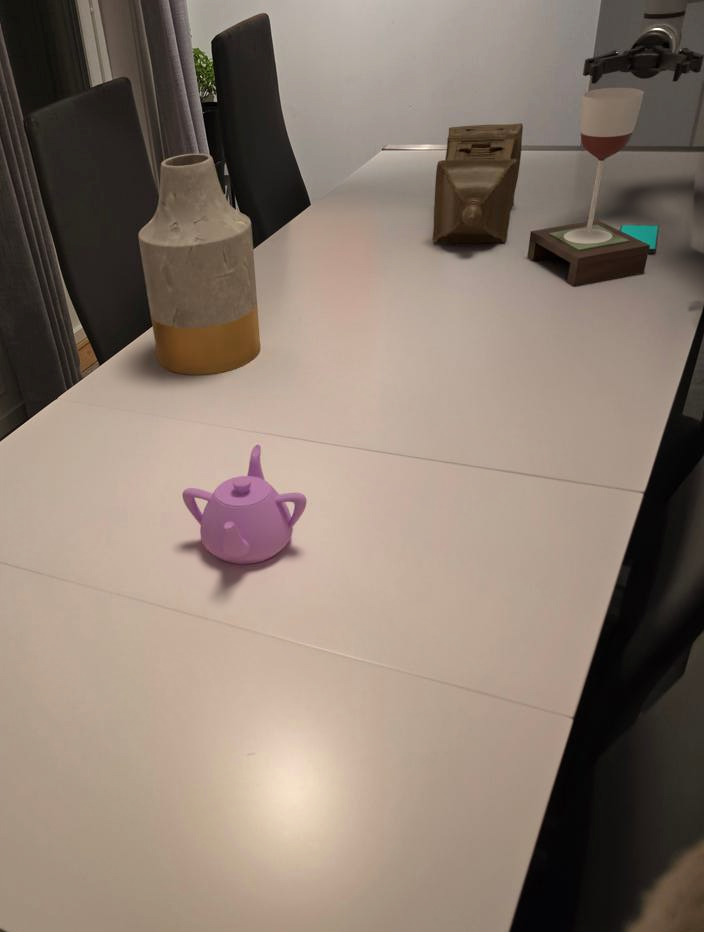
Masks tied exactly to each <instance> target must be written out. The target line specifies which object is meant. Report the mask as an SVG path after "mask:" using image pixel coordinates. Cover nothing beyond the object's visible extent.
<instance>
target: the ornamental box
mask: <svg viewBox="0 0 704 932" xmlns="http://www.w3.org/2000/svg"><path fill="white" fill-rule="evenodd" d="M523 129H524V125H523V123H522V122H520V123H511V124H509V123H508V124H475V125H463V126H462V125H461V126H451V127H450V126H449V127H448V137H447V141H446V150H445V151H446V152H445V158H444V159H442V160H439V161H438V162H437V164H436V172H435V186H434V206H433V207H434V209H433V232H432V242H433V244H440V243H442V244H444V243H446V244H451V243H455V244H463V243H464V244H471V243H472V244H474V243H475V244H477V243H478V244H479V243H504V244H505V243H506V242H507V238H508V233H509V226H510V221H511V220H510V219H511V211H512V207H514V205H515V194H516V189H517V184H518V178H519V173H520V172H519V171H520V165H521V158H522V145H523Z"/></svg>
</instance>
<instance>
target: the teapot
mask: <svg viewBox="0 0 704 932" xmlns="http://www.w3.org/2000/svg"><path fill="white" fill-rule="evenodd" d="M261 448H262V447H261V445H260V444H256V445H254V447H253V448H252V450H251V453H250V458H249V465H248V470H247V475H240V476H239V475H238V476H235V477H231V478H229V479H227V480H226V479H225V480H224V481H223V482H221V483H220V484H219V485H218V486H216V488H215V490H214V491H213V492H209V491H207V490H204V489H200V488H196V487H187V488H185V489H184V490H183V491H182V494H181V495H182V500H183V503H184V505H185V507H186V508H187V510H188V512H189V513H190V514H191V515H192V516H193V518H194V519H195V520H196V521H197V523H198V524H199V525H200V527H199V532H200V540H201V543H202V545H203V546H204V547H205V549H206V550H207V551H208V552H209V553H210V554H212V555H213V556H215V557H217V558H218V559H220V560H222V561H224V562H227V563H231V564H238V565H249V564H256V563H261V562H264V561H267V560H269V559H271V558H273V557H274V556H276V555H278V553H279V552H281V551H282V550H283V549H284V548H285V547H286V546H287V545H288V543H289V542H290V540H291V537H292V535H293V532H294V526H295V525H296V523H297V522H298V521H299V520H300V518H301V516H302V515H303V514H304V511H305V510H306V507H307V497H306V495H305V494H303V493H301V492H287V493H281V494H280V493H279V492H278V491H277V490H276V489H275V488H274V487H273V485H272V484H270V482H268V481H266V479H265V476H264V473H263V469H262V464H261V463H262V462H261V453H262V449H261ZM196 499H201V500H204V501H207V502H206V505H205V507H204V509H203V512H202V511H201V510H200V508H199V506H198V504H197V501H196ZM286 503H293V506H294V508H293V512H292V514H291V512H290V510H289V507H288V505H287V504H286Z"/></svg>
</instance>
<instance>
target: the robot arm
mask: <svg viewBox="0 0 704 932" xmlns="http://www.w3.org/2000/svg"><path fill="white" fill-rule="evenodd" d="M694 3H704V0H646V2H645V8H644V14H643V18H642V21H641V28H640V32H639V37H638V38H637V39H636V40H635V42H634V43H633V44H632V46H631V47H630V49H626V50H624V51H623V53H622V54H619V53H620V52H619V51H618V50H616V49H613V50H611V51H609V52H606V53H604V54H601V55H597V56H594V57H589V58H586V59H585V60H584V63H583V64H584V65H583V71H582V76H584V77H587V76H589V77H591V83H590V84H591V85H593V84H597V83H598V82H599V81H600V80H601V78H602V77H603V75H607V74H611V73H617V72H620V73H631V74H632V75H633V76H634V77H636V78H638V79H642V80H646V79H651V78H653V77H656V76H657V75H658V74H660V73H661V72H665V71H670V72H673V78H672V82H678V81H679V79H680V78H681V76H682V75H683V74H684V75H687V74H689V73H690V72H693V73H695V74H697V73H700V72H701V70H702V66H703V62H704V54H702V53H699V52H695V51H694V50H690V49H689V48H688V47H683V48H681V49H679V48H680V46H681V45H680V44H681V41H682V35H683V33H682V29H683V24H684V19H685V15H686V11H687V8H688V4H694ZM677 50H678V52H677Z"/></svg>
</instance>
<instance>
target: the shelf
mask: <svg viewBox="0 0 704 932" xmlns="http://www.w3.org/2000/svg"><path fill="white" fill-rule="evenodd" d="M587 224H588V220H586V221H580V222H574V223H569V224H563V225H558V226H551V227H546V228H542V229H536V230H531V231H530V233H529V241H528V249H527V256H526V258H527V259H529V260H530V261H532V262H535V261H540V260H546V259H551V258H557V257H559V258H561V259H563V260H565V261H567V262H568V263H570V264H569V269H568V275H567V281H566V282H567V284H569V285H571V286H573V287H577V286H583V285H588V284H594V283H598V282H599V283H600V282H605V281H610V280H615V279H621V278H626V277H631V276H636V275H637V276H638V275H642V274H644V273H645V270H646V265H647V261H648V258H649V257H648V256H649V253H648V252H649V248H650V245H649V244H647V243H645V242H642V241H640V240H638V239H636V238H634V237H632V236H630V235H628V234H626V233H624V232H622V231H620V229H618V228H616V227H613V226H611V225H609V224H608V223H605V222H604V221H601V220H599V219H593V224H592V229H598V230H604V231H607V232H609V233H611V234H612V238H611V239H610V240H607V241H605V242H600V243H592V244H582V243H575V242H570V241H568V240H566V239H565V238H564V234H566V233H567V232H570V231H574V230H579V229H587Z"/></svg>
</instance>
